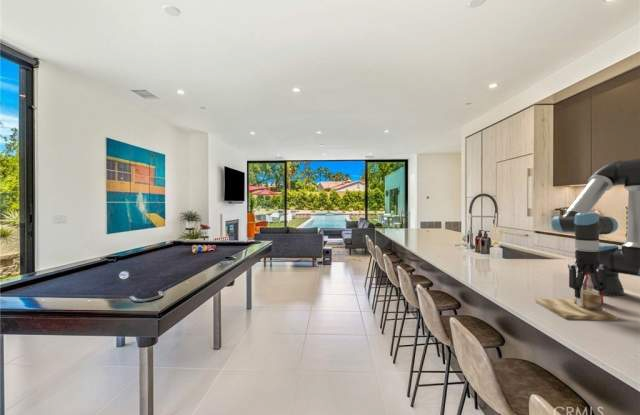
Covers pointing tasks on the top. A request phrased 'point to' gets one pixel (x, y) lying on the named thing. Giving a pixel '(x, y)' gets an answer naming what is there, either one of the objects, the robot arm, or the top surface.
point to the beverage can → (591, 285)
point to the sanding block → (591, 300)
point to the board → (573, 310)
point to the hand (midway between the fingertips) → (587, 305)
